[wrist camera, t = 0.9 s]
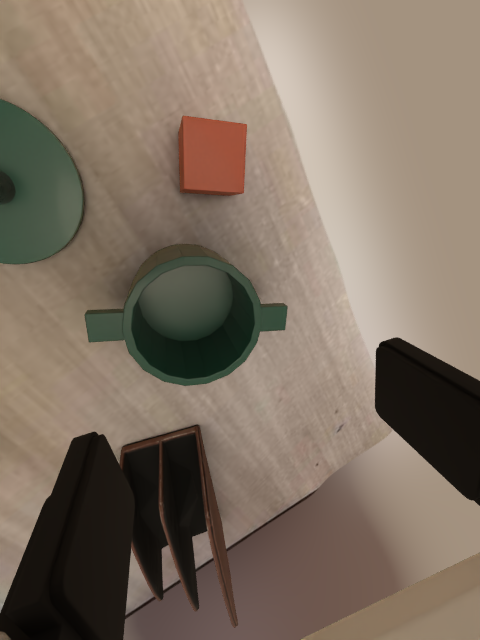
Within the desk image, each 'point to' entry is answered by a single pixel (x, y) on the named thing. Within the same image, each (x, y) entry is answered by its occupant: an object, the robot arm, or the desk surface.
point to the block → (211, 156)
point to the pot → (188, 316)
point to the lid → (35, 189)
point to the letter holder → (175, 510)
